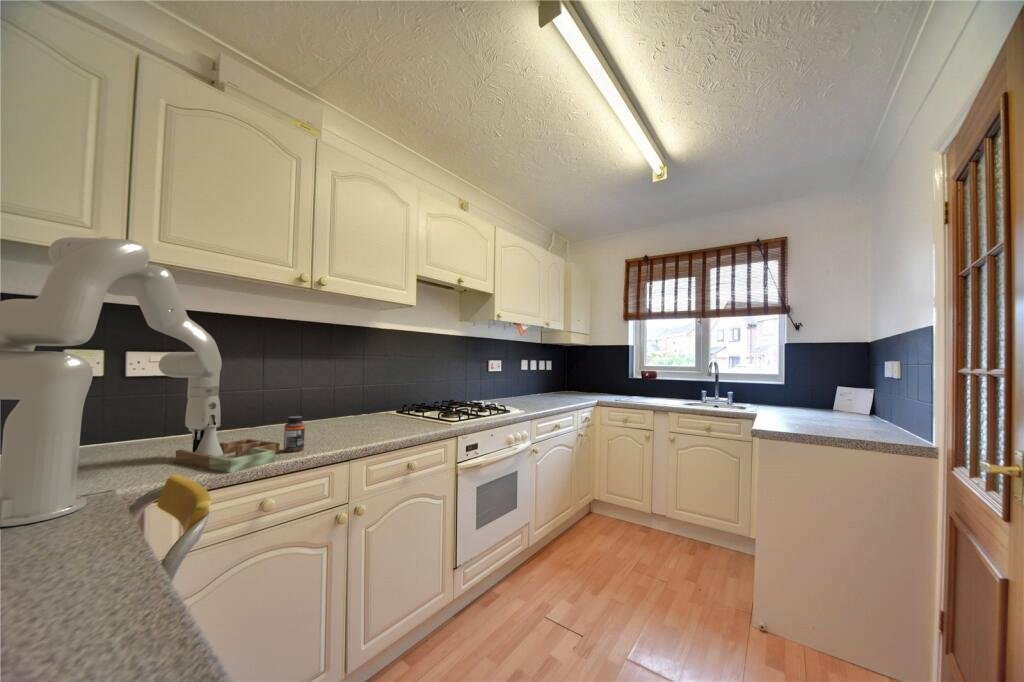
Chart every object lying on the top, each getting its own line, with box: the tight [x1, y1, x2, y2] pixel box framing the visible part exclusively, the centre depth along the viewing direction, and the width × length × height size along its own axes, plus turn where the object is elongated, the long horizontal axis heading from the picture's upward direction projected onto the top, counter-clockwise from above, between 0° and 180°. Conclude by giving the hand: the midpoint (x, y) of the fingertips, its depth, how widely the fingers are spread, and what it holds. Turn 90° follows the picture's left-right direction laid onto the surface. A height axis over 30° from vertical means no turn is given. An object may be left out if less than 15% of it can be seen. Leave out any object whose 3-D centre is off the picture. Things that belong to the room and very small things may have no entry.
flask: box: [196, 424, 225, 457], centre depth 114 cm, size 7×7×10 cm
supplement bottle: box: [283, 415, 306, 453], centre depth 125 cm, size 6×6×11 cm
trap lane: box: [174, 438, 280, 474], centre depth 113 cm, size 20×25×3 cm
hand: (199, 451), depth 115 cm, fingers closed
